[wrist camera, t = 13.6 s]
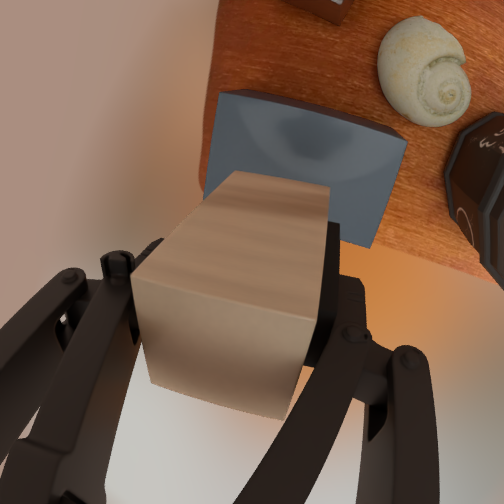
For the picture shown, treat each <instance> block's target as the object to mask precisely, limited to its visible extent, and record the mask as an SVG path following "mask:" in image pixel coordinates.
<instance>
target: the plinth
mask: <svg viewBox="0 0 504 504" xmlns="http://www.w3.org/2000/svg"><path fill="white" fill-rule="evenodd" d="M281 1H284V2H286V3H289V4H291V5H294V6H296V7H299V8H301V9H303V10H306V11H308V12H310V13H312V14H315V15H317V16H319V17H321V18H323V19H325V20H327V21H329V22H331V23H334V24H336V25H338V26H340V24H341V23H342V21H343V19H344V17H345V16H346V14H347V12H348V10H349V9H350V7H351V5H352V3H353V2H354V0H281Z"/></svg>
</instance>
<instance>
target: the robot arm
mask: <svg viewBox="0 0 504 504" xmlns="http://www.w3.org/2000/svg"><path fill="white" fill-rule="evenodd" d="M163 240H164V238H160V239H158V240H156V241H154V242H152V243H151V244H150V245H149V246H148V247H147V248H146V249H145V250H144V251H143V252H142V253H141V254H140V255H139V256H138V257H137V258H136V259H134V256H133V254H131V253H130V252H128V251H123V250H122V251H121V250H119V251H112V252H109V253H107V254H105V255H103V256H102V257H101V258H100V261H101V267H102V272H103V277H104V278H103V279H102V280H94V279H86V274H85V273H84V271H83V270H82V269H80V268H68V269H65V270H62V271H61V272H59V273H58V274H57V275H56V276H55V277H53V278H52V279H51V280H50V281H49V282H48V283H47V284H46V285H45V286H44V287H43V288H42V289H40V290H39V291H38V292H37V293H36V294H35V295H34V296H33V297H32V298H31V299H30V300H29V301H28V302H27V303H26V304H25V305H24V306H23V307H22V308H21V309H20V310H19V311H18V312H17V313H16V314H15V315H14V316H13V317H12V318H11V319H10V320H9V321H8V322H7V323H6V324H5V325H4V326H3V327H2V328H1V329H0V465H1V463H2V462H3V460H4V459H5V457H6V456H7V454H8V453H9V454H8V457H7V460H6V463H5V466H4V469H3V472H2V475H1V478H0V504H106V493H105V488H104V487H105V486H104V484H105V478H106V473H107V468H108V464H109V460H110V456H111V451H112V447H113V443H114V439H115V435H116V431H117V427H118V423H119V419H120V415H121V411H122V407H123V404H124V400H125V397H126V393H127V389H128V386H129V382H130V378H131V375H132V371H133V368H134V365H135V361H136V358H137V355H138V352H139V348H140V345H141V342H142V340H141V335H140V330H139V325H138V320H137V314H136V309H135V303H134V297H133V291H132V285H131V278H130V276H131V274H132V273H133V272H134V271H135V269H136V268H137V267H138V266H139V265H140V264H141V263H142V262H143V261H144V260H145V259H146V258H147V257H148V256H149V255H150V254H151V253H152V252H153V251H154V249H155V248H156V247H157V246H158V245H159V244H160V243H161V242H162V241H163ZM339 260H340V223H336V222H331V221H328V223H327V235H326V245H325V256H324V265H323V274H322V283H321V292H320V300H319V308H318V316H317V322H316V325H315V329H314V332H313V335H312V338H311V342H310V345H309V348H308V351H307V354H306V357H305V361H304V364H303V365H304V366H309V367H314V370H313V372H312V374H311V376H310V378H309V380H308V382H307V383H306V385H305V387H304V389H303V391H302V393H301V394H300V396H299V398H298V400H297V402H296V403H295V405H294V407H293V409H292V411H291V412H290V414H289V416H288V418H287V419H286V421H285V423H284V424H283V426H282V428H281V430H280V431H279V433H278V435H277V437H276V438H275V440H274V441H273V443H272V445H271V446H270V448H269V449H268V451H267V453H266V454H265V456H264V458H263V459H262V461H261V463H260V464H259V465H258V467H257V469H256V470H255V472H254V473H253V475H252V476H251V478H250V479H249V481H248V482H247V484H246V485H245V487H244V488H243V490H242V491H241V493H240V494H239V495H238V497H237V498H236V500H235V501H234V503H233V504H304V503H305V501H306V499H307V498H308V496H309V494H310V492H311V490H312V488H313V486H314V484H315V482H316V480H317V478H318V476H319V474H320V472H321V470H322V468H323V466H324V463H325V461H326V459H327V457H328V455H329V452H330V450H331V448H332V446H333V444H334V441H335V439H336V437H337V434H338V432H339V430H340V427H341V425H342V423H343V420H344V418H345V415H346V413H347V410H348V408H349V405H350V403H351V400H352V398H355V399H357V400H360V401H362V402H364V403H365V409H364V427H363V441H362V452H361V464H360V473H359V482H358V490H357V497H356V504H439V501H440V500H439V498H440V492H439V491H440V488H439V456H438V455H439V454H438V439H437V427H436V416H435V407H434V398H433V391H432V384H431V376H430V370H429V364H428V361H427V358H426V356H425V355H424V354H423V353H422V351H420V350H419V349H417V348H416V347H413V346H410V345H402V346H399V347H397V348H396V349H395V350H394V351H391V350H389V349H387V348H384V347H382V346H380V345H379V344H377V343H376V342H375V341H373V340H372V335H371V333H370V331H369V330H368V329H367V325H366V324H367V323H366V304H365V288H364V285H363V284H362V282H361V281H360V279H359V278H355V277H350V276H345V275H340V274H339V264H340V261H339ZM64 314H65V317H66V320H65V321H64V322H62V323H61V321H60V318H61V317H62V315H64ZM39 407H40V408H39ZM38 408H39V411H38V414H37V416H36V419H35V421H34V424H33V426H32V429H31V431H30V434H29V435H28V437H26V438H22V439H18V438H19V436H20V435H21V433H22V432H23V430H24V429H25V427H26V426H27V424H28V423H29V421H30V420H31V418H32V417H33V416H34V414H35V413H36V411H37V410H38ZM17 439H18V440H17Z"/></svg>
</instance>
